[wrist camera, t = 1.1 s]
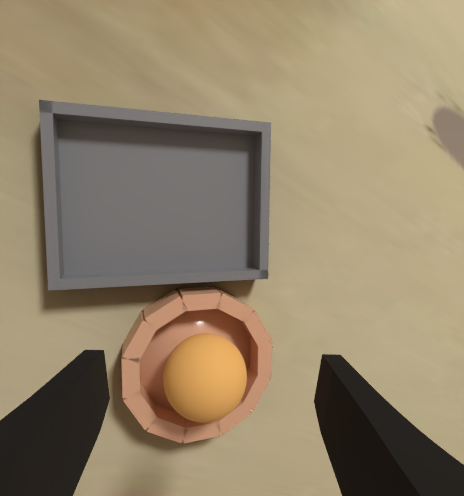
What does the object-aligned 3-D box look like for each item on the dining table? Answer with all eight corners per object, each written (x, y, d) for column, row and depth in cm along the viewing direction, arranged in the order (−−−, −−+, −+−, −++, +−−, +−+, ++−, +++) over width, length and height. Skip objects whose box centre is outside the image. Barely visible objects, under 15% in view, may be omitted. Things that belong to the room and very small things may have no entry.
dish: (259, 410, 25) (270, 426, 23) (124, 434, 22) (123, 455, 20) (261, 283, 24) (273, 289, 22) (120, 291, 21) (119, 299, 19)
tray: (257, 274, 24) (267, 278, 22) (54, 283, 20) (48, 290, 18) (260, 129, 23) (271, 122, 21) (47, 110, 19) (38, 99, 17)
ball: (232, 388, 23) (259, 432, 19) (160, 399, 22) (168, 451, 17) (232, 319, 23) (260, 347, 18) (158, 326, 21) (167, 358, 17)
